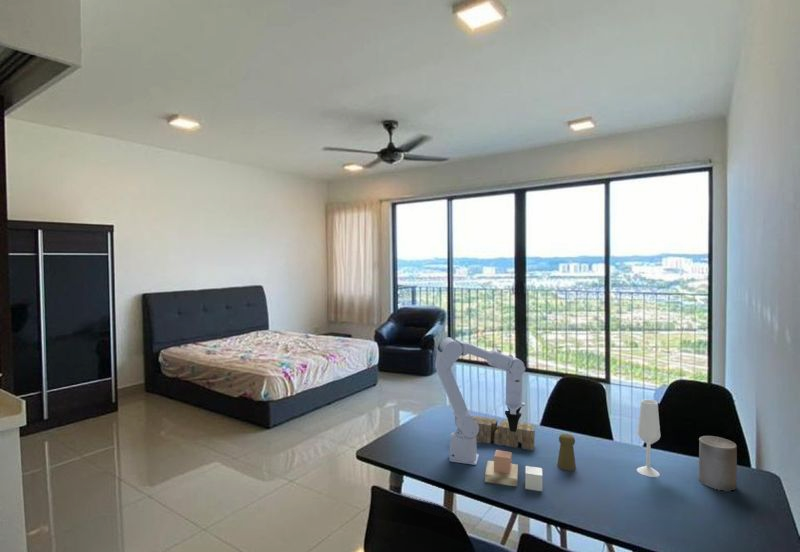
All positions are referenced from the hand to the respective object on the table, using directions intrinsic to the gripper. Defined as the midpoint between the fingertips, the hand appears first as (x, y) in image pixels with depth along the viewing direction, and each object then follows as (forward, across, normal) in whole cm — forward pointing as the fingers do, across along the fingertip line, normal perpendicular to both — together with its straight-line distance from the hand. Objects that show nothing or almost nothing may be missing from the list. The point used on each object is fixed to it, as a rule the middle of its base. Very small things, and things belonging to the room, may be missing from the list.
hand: (513, 427), depth 154 cm
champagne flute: (+11, +1, -44) cm, 45 cm away
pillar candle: (+11, -1, -63) cm, 64 cm away
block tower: (+11, +11, +7) cm, 17 cm away
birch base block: (+11, -17, +3) cm, 20 cm away
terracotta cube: (+8, -17, +3) cm, 19 cm away
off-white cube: (+10, -20, -7) cm, 24 cm away
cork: (+11, -3, -18) cm, 21 cm away
